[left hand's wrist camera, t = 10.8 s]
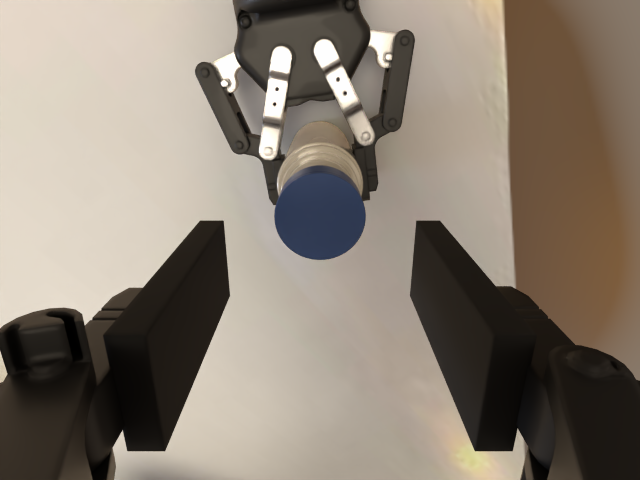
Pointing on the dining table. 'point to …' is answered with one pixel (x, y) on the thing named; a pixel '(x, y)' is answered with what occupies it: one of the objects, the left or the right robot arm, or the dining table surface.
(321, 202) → the cap
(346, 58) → the right robot arm
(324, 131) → the bottle
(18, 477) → the left robot arm
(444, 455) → the dining table surface
